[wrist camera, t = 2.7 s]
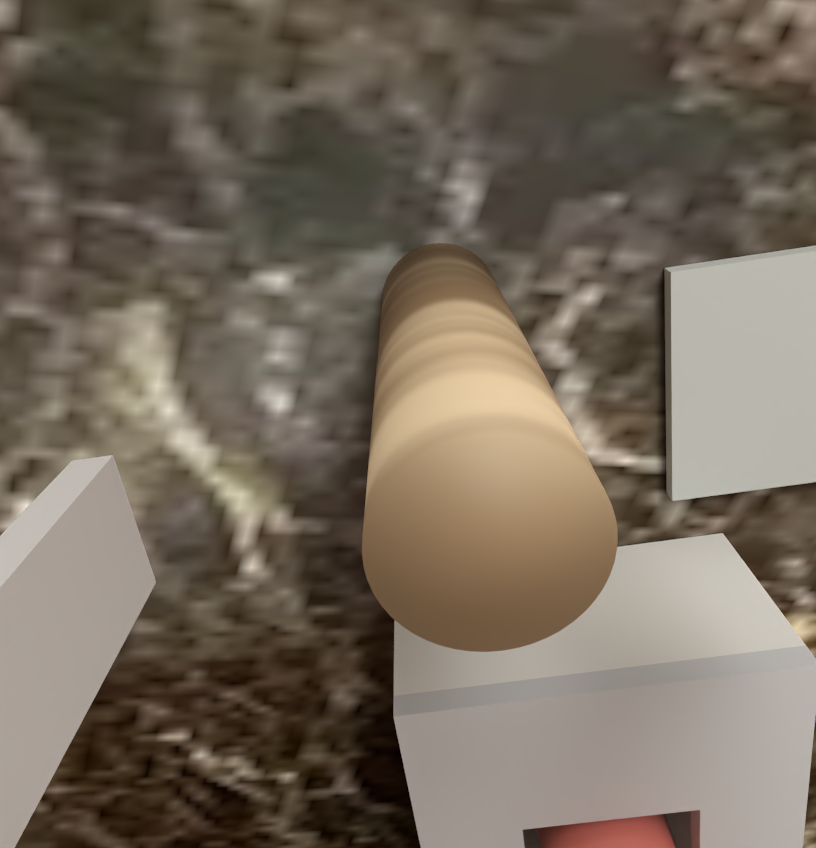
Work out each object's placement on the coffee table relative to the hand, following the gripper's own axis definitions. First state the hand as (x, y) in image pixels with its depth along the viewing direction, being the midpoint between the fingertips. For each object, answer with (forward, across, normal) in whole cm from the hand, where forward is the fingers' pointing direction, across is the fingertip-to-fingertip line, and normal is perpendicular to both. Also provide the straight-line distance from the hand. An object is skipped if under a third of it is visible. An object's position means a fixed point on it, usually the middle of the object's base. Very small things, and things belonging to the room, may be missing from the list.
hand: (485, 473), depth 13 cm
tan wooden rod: (+11, 0, 0) cm, 11 cm away
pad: (+11, +11, -4) cm, 16 cm away
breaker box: (+11, +3, -18) cm, 21 cm away
